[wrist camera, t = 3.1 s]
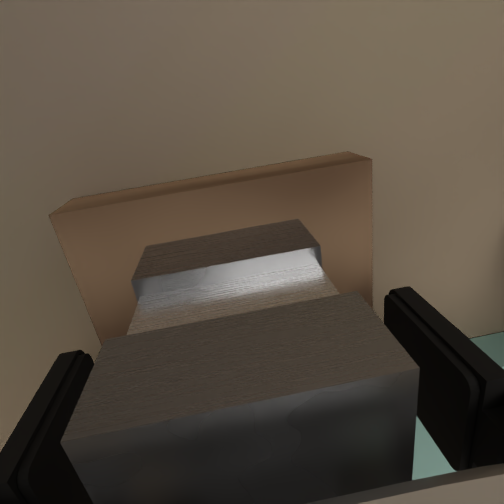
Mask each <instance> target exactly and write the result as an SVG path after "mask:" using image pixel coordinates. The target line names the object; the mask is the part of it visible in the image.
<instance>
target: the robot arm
mask: <svg viewBox="0 0 504 504" xmlns="http://www.w3.org/2000/svg"><path fill="white" fill-rule="evenodd" d="M384 324H385V326H386V327H387V328H388V329H389V331H390V332H391V333H392V334H393V336H394V337H395V338H396V339H397V341H398V342H399V343H400V344H401V345H402V347H403V348H404V349H405V350H406V352H407V353H408V354H409V355H410V357H411V358H412V359H413V360H414V361H415V363H416V364H417V365H418V366H419V368H420V371H419V386H418V401H417V415H416V416H417V417H418V419H419V420H420V421H421V423H422V424H423V426H424V427H425V429H426V430H427V432H428V433H429V435H430V436H431V438H432V439H433V441H434V442H435V444H436V445H437V447H438V448H439V450H440V451H441V453H442V454H443V455H444V457H445V458H446V460H447V461H448V463H449V464H450V466H451V467H452V468H453V469H454V470H455V471H457V472H452V473H446V474H441V475H436V476H431V477H426V478H421V479H416V480H412V481H407V482H403V483H398V484H393V485H389V486H384V487H380V488H375V489H370V490H366V491H361V492H357V493H352V494H347V495H343V496H338V497H333V498H329V499H324V500H320V501H315V502H311V503H306V504H504V369H503V368H501V367H500V366H499V365H498V364H497V363H496V362H495V361H494V360H492V359H491V358H490V357H489V356H488V355H487V354H486V353H485V352H483V351H482V350H481V349H480V348H479V347H478V346H477V345H476V344H474V343H473V342H472V341H471V340H470V339H469V338H468V337H467V336H465V335H464V334H463V333H462V332H461V331H460V330H459V329H458V328H456V327H455V326H454V325H453V324H452V323H450V322H449V321H448V320H447V319H446V318H445V317H444V316H443V315H441V314H440V313H439V312H438V311H437V310H436V309H435V308H434V307H432V306H431V305H430V304H429V303H428V302H427V301H426V300H425V299H423V298H422V297H421V296H420V295H419V294H418V293H417V292H416V291H414V290H413V289H412V288H411V287H403V288H397V289H392V290H390V292H389V295H386V296H385V299H384ZM93 366H94V362H93V360H92V358H91V356H90V355H89V354H85V353H84V352H83V351H82V350H77V351H72V352H67V353H62V354H60V355H59V356H58V357H57V359H56V361H55V362H54V364H53V366H52V367H51V369H50V371H49V372H48V374H47V376H46V377H45V379H44V381H43V382H42V384H41V386H40V387H39V389H38V391H37V392H36V394H35V396H34V397H33V399H32V401H31V402H30V404H29V406H28V407H27V409H26V411H25V412H24V414H23V416H22V417H21V419H20V421H19V422H18V424H17V426H16V427H15V429H14V431H13V432H12V434H11V436H10V437H9V439H8V441H7V442H6V444H5V446H4V447H3V449H2V451H1V452H0V504H94V503H93V502H92V500H91V498H90V496H89V494H88V493H87V491H86V489H85V487H84V485H83V483H82V482H81V480H80V478H79V476H78V474H77V472H76V471H75V469H74V467H73V465H72V463H71V462H70V460H69V458H68V456H67V454H66V452H65V451H64V449H63V447H62V445H61V443H60V442H61V439H62V437H63V435H64V432H65V430H66V428H67V426H68V423H69V421H70V419H71V416H72V414H73V412H74V410H75V407H76V405H77V403H78V400H79V398H80V396H81V394H82V391H83V389H84V387H85V384H86V382H87V380H88V377H89V375H90V373H91V371H92V368H93Z"/></svg>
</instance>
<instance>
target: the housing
mask: <svg viewBox="0 0 504 504" xmlns="http://www.w3.org/2000/svg"><path fill="white" fill-rule="evenodd" d="M131 284H132V287H133V290H134V293H135V296H136V299H137V302H138V304H137V307H136V310H135V313H134V315H133V318H132V321H131V324H130V327H129V330H128V332H127V335H126V336H121V337H116V338H110V339H105V341H104V343H103V345H102V348H101V350H100V352H99V355H98V357H97V359H96V361H95V364H94V366H93V368H92V371H91V373H90V375H89V377H88V380H87V382H86V384H85V387H84V389H83V391H82V394H81V396H80V398H79V400H78V403H77V405H76V407H75V410H74V412H73V414H72V416H71V419H70V421H69V423H68V426H67V428H66V430H65V432H64V435H63V437H62V439H61V442H60V443H61V445H62V447H63V449H64V451H65V452H66V454H67V456H68V458H69V460H70V462H71V463H72V465H73V467H74V469H75V471H76V472H77V474H78V476H79V478H80V480H81V482H82V483H83V485H84V487H85V489H86V491H87V493H88V494H89V496H90V498H91V500H92V502H93V503H94V504H306V503H311V502H315V501H320V500H324V499H329V498H333V497H338V496H343V495H347V494H352V493H357V492H361V491H366V490H370V489H375V488H380V487H384V486H389V485H393V484H398V483H403V482H407V481H412V473H413V459H414V444H415V430H416V415H417V401H418V386H419V371H420V368H419V366H418V365H417V364H416V363H415V361H414V360H413V359H412V358H411V357H410V355H409V354H408V353H407V352H406V350H405V349H404V348H403V347H402V345H401V344H400V343H399V342H398V341H397V339H396V338H395V337H394V336H393V334H392V333H391V332H390V331H389V329H388V328H387V327H386V326H385V324H384V323H383V322H382V321H381V320H380V318H379V317H378V316H377V315H376V313H375V312H374V311H373V310H372V308H371V307H370V306H369V305H368V304H367V302H366V301H365V300H364V299H363V297H362V296H361V295H360V294H359V292H358V291H353V292H348V293H343V294H339V292H338V291H337V289H336V288H335V286H334V285H333V284H332V282H331V281H330V279H329V278H328V277H327V275H326V274H325V272H324V271H323V269H322V258H321V246H320V244H319V243H318V242H317V241H316V239H315V238H314V237H313V236H312V234H311V233H310V232H309V231H308V230H307V228H306V227H305V226H304V225H303V223H302V222H301V221H300V220H299V218H298V219H293V220H287V221H281V222H276V223H270V224H265V225H259V226H254V227H248V228H243V229H237V230H232V231H226V232H221V233H215V234H210V235H204V236H198V237H193V238H187V239H182V240H176V241H171V242H165V243H160V244H154V245H149V246H146V247H145V249H144V252H143V254H142V256H141V258H140V261H139V263H138V265H137V268H136V270H135V272H134V275H133V277H132V279H131Z"/></svg>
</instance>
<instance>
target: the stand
mask: <svg viewBox="0 0 504 504" xmlns="http://www.w3.org/2000/svg"><path fill="white" fill-rule="evenodd" d="M49 217H50V220H51V222H52V225H53V227H54V230H55V232H56V234H57V237H58V239H59V242H60V244H61V247H62V249H63V252H64V254H65V257H66V259H67V261H68V264H69V266H70V269H71V271H72V274H73V276H74V279H75V281H76V284H77V286H78V288H79V291H80V293H81V296H82V298H83V301H84V303H85V306H86V308H87V311H88V313H89V315H90V318H91V320H92V323H93V325H94V328H95V330H96V333H97V335H98V338H99V340H100V342H101V345H103V343H104V341H105V339H110V338H116V337H121V336H126V335H127V332H128V330H129V327H130V324H131V321H132V318H133V315H134V313H135V310H136V307H137V304H138V302H137V299H136V296H135V293H134V290H133V287H132V284H131V279H132V277H133V275H134V272H135V270H136V268H137V265H138V263H139V261H140V258H141V256H142V254H143V252H144V249H145V247H146V246H149V245H154V244H160V243H165V242H171V241H176V240H182V239H187V238H193V237H198V236H204V235H210V234H215V233H221V232H226V231H232V230H237V229H243V228H248V227H254V226H259V225H265V224H270V223H276V222H281V221H287V220H293V219H298V218H299V220H300V221H301V222H302V223H303V225H304V226H305V227H306V228H307V230H308V231H309V232H310V233H311V234H312V236H313V237H314V238H315V239H316V241H317V242H318V243H319V244H320V246H321V258H322V269H323V271H324V272H325V274H326V275H327V277H328V278H329V279H330V281H331V282H332V284H333V285H334V286H335V288H336V289H337V291H338V292H339V294H343V293H348V292H353V291H358V292H359V294H360V295H361V296H362V297H363V299H364V300H365V301H366V302H367V304H368V305H369V306H370V307H371V308H372V310H373V301H372V159H370V158H367V157H364V156H360V155H357V154H354V153H351V152H342V153H336V154H330V155H325V156H319V157H313V158H307V159H301V160H295V161H290V162H284V163H278V164H272V165H266V166H260V167H255V168H249V169H243V170H237V171H231V172H225V173H220V174H214V175H208V176H202V177H196V178H191V179H185V180H179V181H173V182H167V183H161V184H156V185H150V186H144V187H138V188H132V189H126V190H121V191H115V192H109V193H103V194H97V195H92V196H86V197H80V198H74V199H72V200H70V201H69V202H67V203H66V204H64V205H63V206H61V207H60V208H59V209H57V210H56V211H54V212H53V213H51V214H50V215H49Z"/></svg>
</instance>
